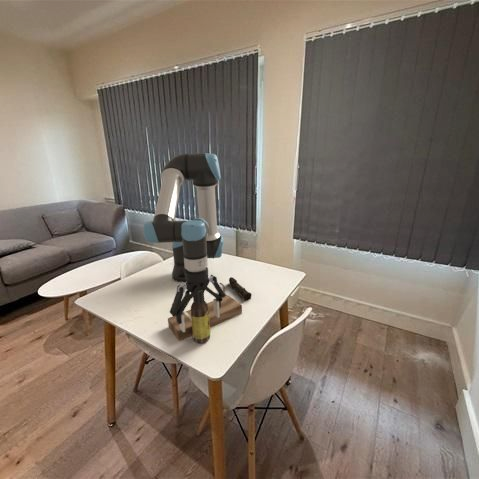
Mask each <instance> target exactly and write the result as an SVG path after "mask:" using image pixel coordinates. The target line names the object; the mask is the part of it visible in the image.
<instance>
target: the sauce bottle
mask: <svg viewBox="0 0 479 479" xmlns="http://www.w3.org/2000/svg"><path fill="white" fill-rule="evenodd" d="M192 300H193V302H192V303H191V305H190V310H191V320H192V331H193V335H192V336H193V341H194V342H195V343H196V344H197V343H198V344H203V343H206V342H208V341H209V340H210V338H211V327H210V320H209V308H208V304H207V303H208V302H206V300H205V291H203V290H201V291H198V292H197V295H194V296H193V298H192Z"/></svg>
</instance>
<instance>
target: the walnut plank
mask: <svg viewBox="0 0 479 479" xmlns="http://www.w3.org/2000/svg"><path fill="white" fill-rule="evenodd" d="M227 295H228V296H225V297H223V298H222V301H221V307H220V308H219V314H220V317H219V318H218V317H216V316H215V315H214V304H213V301H210V302H206V303H207V304H208V308H209V320H210V328H212V327H214V326H217V325H219V324H221V323H223V322H226V321H228V320H230V319H233V318H235V317H237V316H239V315H243V305H242V303H240V302H238V301H237V300H236V299H234V298H233V297H232V296H231V295H229V294H227ZM182 314H183V315H184V322H185V332H182V330H181V329H180V324H178V322H177V320H176V316H172V315H171V317H168V318H167V323H168V329H170V330H171V332H172V333H173V335H174V336H175V338H176V339H177V340H178V341H179V342H180V341H183V340H185V339H188V338H190V337H192V336H193V331H192V320H191V309H189V310H185V311H183V313H182Z"/></svg>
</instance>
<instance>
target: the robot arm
mask: <svg viewBox="0 0 479 479" xmlns="http://www.w3.org/2000/svg"><path fill="white" fill-rule="evenodd" d="M160 177H161V180H162V182H161V184H160V189H159V194H158V199H157V202H156V206H155V212H154V214H153V219H152V220H150V221H146V222H144V224H143V227H142V228H143V229H142V232H143V234H142V235H143V237H144V240H145V242H146V243H150V244H151V243H152V244H153V243H154V244H159V243H160V244H161V243H172V244H171V245H172V246H171V247H172V254H173V263H174V264H173V268H172V272H171V277H172V278H171V279H172V280H173V281H175V282H178V283H185V284H184V285H180V284H178V285H177V286H176V293H175V296H174V298H173V301H172V304H171V307H170V310H169V313H170V315H171V317H172V316H176V320H177V322H178V324H180V329H181V330H182V332H185V322H184V315H183V314H182V313H183V312H185V309H186V308H187V306H188V304H189V303H190V301H191V299H193V296H194V295H197V292H198V291H201V290H203V291H204V292H205V291H206V292H208V293H209V294H210V295H211V296H213V297H214V298H212V300H213V304H214V315H215V316H216V317H218V318H219V317H220V314H219V308H220V307H221V301H222V298H223V297H225V294H224V292H223V289H222V287H221V285H220V283H218V277H217V276H215V275H214V274H209V268H208V266H209V265H208V259H213V260H214V259H218V258H219V259H220V258H221V257H222V255H223V247H224V236H222V235H221V233H220V231H219V230H218V223H217V221H218V220H217V206H216V201H217V200H216V189H215V188H216V186H217V185H218V184H219V183H218V182H219V181H220V180H221V170H220V165H219V159H218V156H217V154H215V153H208V152H201V153H180V154H178V155H175V156H173V157H172V158H171V159H170V160H169V161H168V162H167V163H165V164H164V166H163V168H162V171H161V176H160ZM184 181H192V186H194V187H195V188H196V196H197V207H198V208H197V209H198V217H195V218H193V219H191V220H176V215H177V209H178V203H179V196H180V191H181V187H182V185H183V184H184ZM209 275H210V276H209ZM210 283H211V284H212V285H213V287H214V288H215V290H216V291H217V292H215V291H213V290H212V289H211V288H210V287H208V285H209V284H210ZM214 292H215V293H214ZM216 293H218V295H217V294H216Z"/></svg>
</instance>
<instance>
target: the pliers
mask: <svg viewBox="0 0 479 479" xmlns="http://www.w3.org/2000/svg"><path fill="white" fill-rule="evenodd" d="M219 285H220V286H222V287H223V289H222V290H223V292H224V294H225V296H228V295H229V294H227V293H226V287H225V286H226V285H224V284H223V283H221V282H219ZM213 292H214V293H216V294H217V295H218V294H219V293H218V292H215V291H213Z"/></svg>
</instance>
